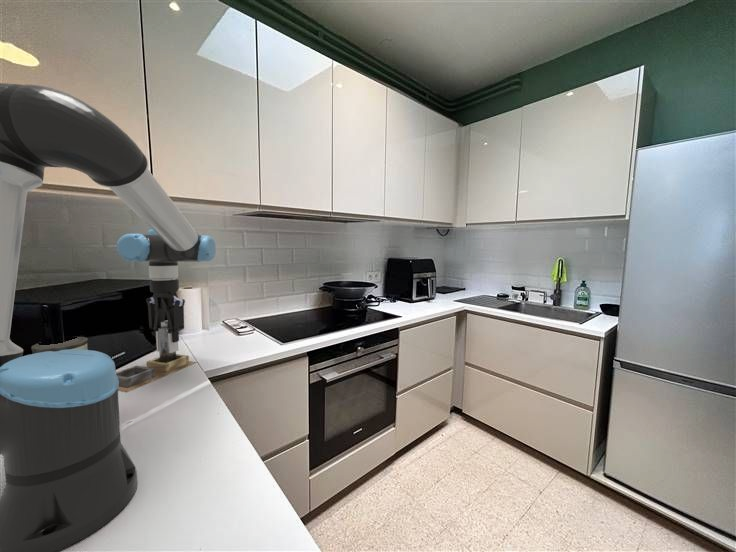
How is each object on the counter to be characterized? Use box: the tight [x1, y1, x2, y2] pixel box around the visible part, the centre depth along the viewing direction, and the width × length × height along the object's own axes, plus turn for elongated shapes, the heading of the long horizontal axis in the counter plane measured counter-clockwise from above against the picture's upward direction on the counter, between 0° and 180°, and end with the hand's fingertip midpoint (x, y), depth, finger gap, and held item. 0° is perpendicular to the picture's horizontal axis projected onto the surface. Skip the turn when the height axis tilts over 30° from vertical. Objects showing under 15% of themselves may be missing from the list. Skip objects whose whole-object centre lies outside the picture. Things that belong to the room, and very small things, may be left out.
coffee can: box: [30, 336, 89, 354], centre depth 78 cm, size 10×10×14 cm
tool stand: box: [116, 353, 198, 393], centre depth 88 cm, size 22×12×4 cm, turn 164°
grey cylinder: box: [158, 319, 177, 363], centre depth 92 cm, size 4×4×14 cm
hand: (167, 350), depth 93 cm, fingers closed on grey cylinder, 4 cm apart
